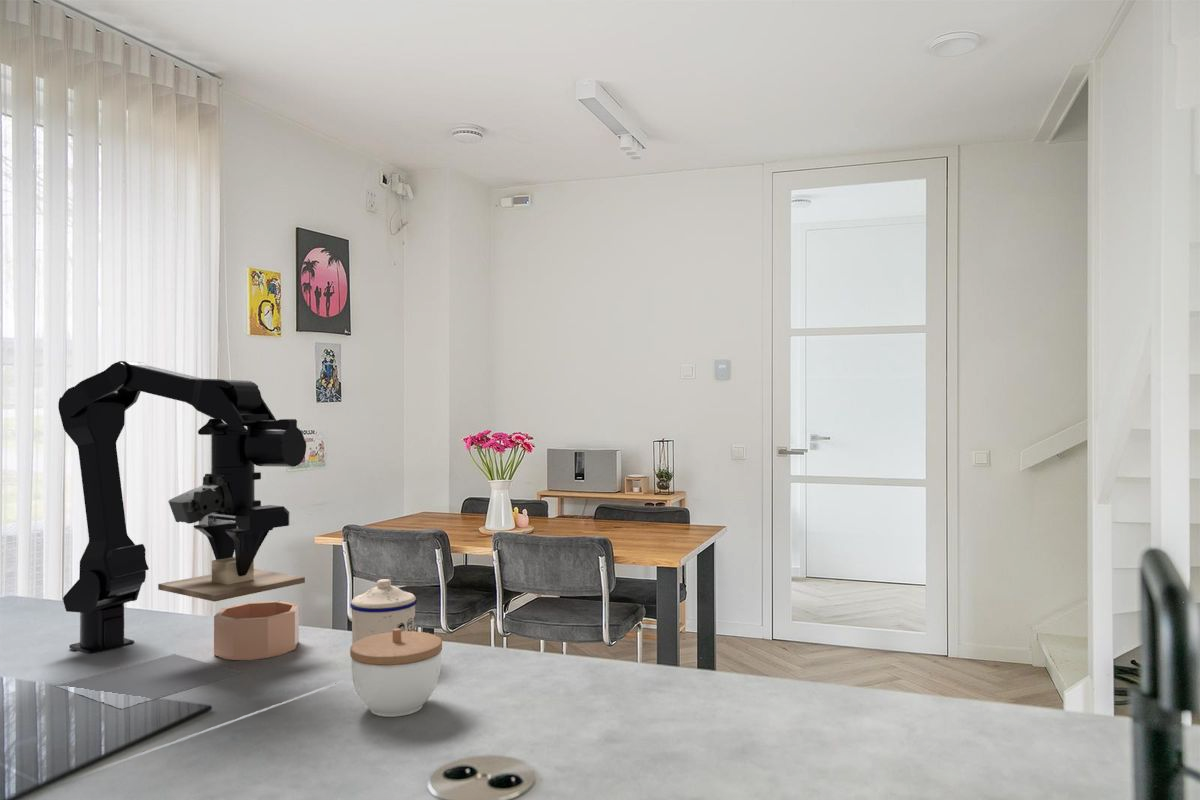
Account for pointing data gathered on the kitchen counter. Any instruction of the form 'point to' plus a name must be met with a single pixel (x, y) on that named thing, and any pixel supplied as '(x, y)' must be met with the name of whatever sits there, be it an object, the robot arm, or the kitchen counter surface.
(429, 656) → the lidded jar
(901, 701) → the kitchen counter surface
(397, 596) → the teacup with lid
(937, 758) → the kitchen counter surface
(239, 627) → the bowl
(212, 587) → the cover
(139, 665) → the mat
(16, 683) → the kitchen counter surface
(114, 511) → the robot arm
